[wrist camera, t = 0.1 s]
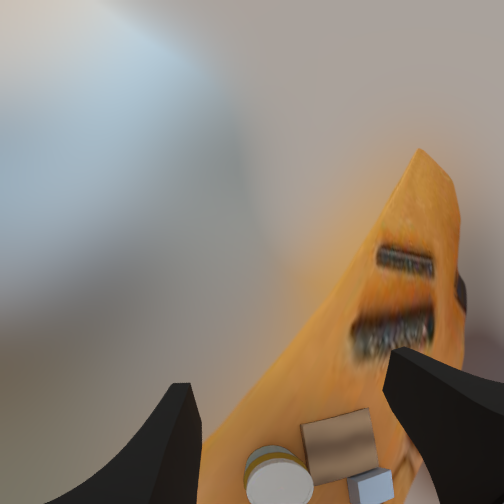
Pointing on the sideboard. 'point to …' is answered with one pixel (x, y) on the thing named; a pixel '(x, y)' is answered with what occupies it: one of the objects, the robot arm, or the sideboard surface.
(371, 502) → the cube
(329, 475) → the base slab
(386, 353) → the sideboard surface
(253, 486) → the bottle
